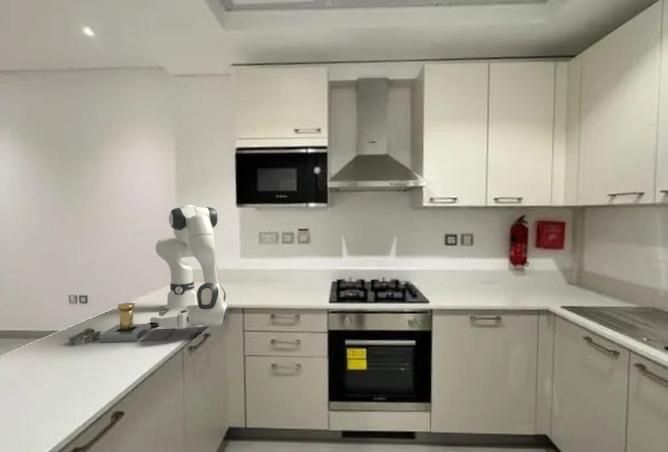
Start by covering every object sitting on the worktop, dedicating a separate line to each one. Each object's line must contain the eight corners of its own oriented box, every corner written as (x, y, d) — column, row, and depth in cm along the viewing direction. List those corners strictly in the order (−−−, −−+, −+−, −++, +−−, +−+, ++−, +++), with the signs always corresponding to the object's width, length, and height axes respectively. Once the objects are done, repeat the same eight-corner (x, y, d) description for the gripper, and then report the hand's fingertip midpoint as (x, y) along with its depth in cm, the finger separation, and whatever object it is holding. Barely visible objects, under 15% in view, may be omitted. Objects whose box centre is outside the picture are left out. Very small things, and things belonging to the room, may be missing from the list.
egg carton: (91, 336, 156) (91, 326, 156) (104, 338, 153) (104, 328, 153) (65, 344, 146) (65, 334, 146) (78, 346, 143) (78, 336, 143)
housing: (117, 331, 161) (117, 324, 161) (150, 330, 163) (150, 323, 163) (100, 342, 147) (100, 335, 147) (137, 341, 149) (136, 333, 149)
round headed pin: (122, 334, 158) (122, 302, 157) (137, 333, 158) (137, 302, 158) (115, 338, 152) (114, 306, 151) (131, 338, 152) (130, 306, 152)
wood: (168, 317, 185) (168, 311, 185) (181, 318, 183) (181, 312, 183) (134, 330, 164) (134, 324, 164) (148, 332, 162) (148, 325, 162)
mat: (154, 330, 163) (154, 329, 163) (175, 329, 164) (175, 328, 164) (141, 341, 149) (140, 339, 149) (164, 340, 150) (164, 338, 150)
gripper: (195, 302, 168) (163, 303, 166) (181, 314, 147) (145, 315, 146) (195, 316, 168) (164, 317, 167) (181, 330, 148) (145, 331, 146)
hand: (155, 316), depth 156 cm, fingers open, 8 cm apart
